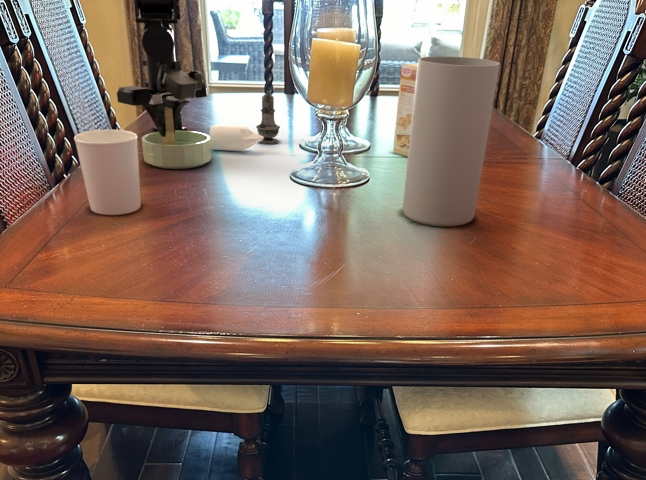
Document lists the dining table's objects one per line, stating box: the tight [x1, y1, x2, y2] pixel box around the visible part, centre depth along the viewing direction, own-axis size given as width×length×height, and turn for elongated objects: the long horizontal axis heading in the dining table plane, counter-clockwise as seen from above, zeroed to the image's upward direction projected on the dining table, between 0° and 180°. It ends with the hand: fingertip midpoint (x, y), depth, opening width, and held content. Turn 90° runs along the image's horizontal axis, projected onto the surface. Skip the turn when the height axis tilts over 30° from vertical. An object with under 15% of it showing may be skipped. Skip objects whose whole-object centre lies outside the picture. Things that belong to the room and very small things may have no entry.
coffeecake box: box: [392, 63, 418, 158], centre depth 143 cm, size 15×7×20 cm, turn 131°
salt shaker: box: [255, 89, 281, 145], centre depth 148 cm, size 6×6×12 cm
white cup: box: [73, 129, 142, 216], centre depth 102 cm, size 10×10×12 cm
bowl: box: [141, 130, 212, 170], centre depth 131 cm, size 14×14×5 cm
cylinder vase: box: [402, 55, 501, 228], centre depth 101 cm, size 12×12×25 cm
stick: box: [161, 107, 175, 145], centre depth 128 cm, size 2×2×9 cm
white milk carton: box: [208, 124, 264, 152], centre depth 141 cm, size 6×12×6 cm, turn 83°
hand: (167, 135), depth 129 cm, fingers closed on stick, 2 cm apart
